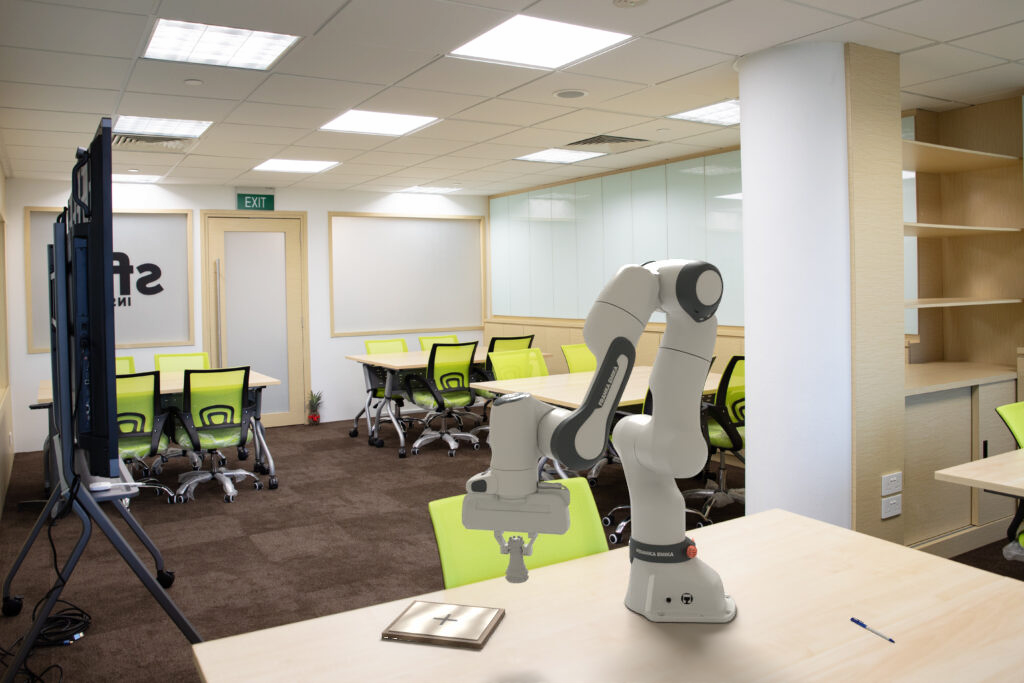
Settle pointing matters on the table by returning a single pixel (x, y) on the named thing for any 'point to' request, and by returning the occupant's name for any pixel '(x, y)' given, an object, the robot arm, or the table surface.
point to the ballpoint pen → (870, 629)
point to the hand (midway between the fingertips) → (516, 554)
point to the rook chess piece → (516, 561)
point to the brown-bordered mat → (445, 624)
